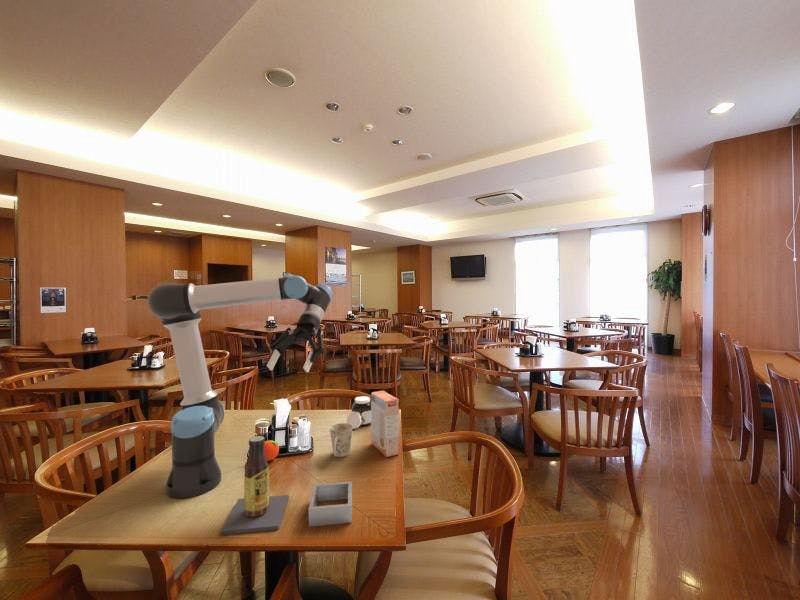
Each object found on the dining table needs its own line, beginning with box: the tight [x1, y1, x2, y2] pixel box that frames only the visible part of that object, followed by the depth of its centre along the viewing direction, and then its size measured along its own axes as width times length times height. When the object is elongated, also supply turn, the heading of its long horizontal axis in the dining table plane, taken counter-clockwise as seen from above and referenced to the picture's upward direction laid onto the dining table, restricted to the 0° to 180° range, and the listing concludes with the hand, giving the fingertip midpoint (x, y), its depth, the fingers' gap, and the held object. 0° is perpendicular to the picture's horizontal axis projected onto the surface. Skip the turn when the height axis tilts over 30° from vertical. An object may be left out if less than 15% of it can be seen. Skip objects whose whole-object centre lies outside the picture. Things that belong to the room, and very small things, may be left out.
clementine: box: [264, 439, 281, 462], centre depth 129 cm, size 8×7×7 cm
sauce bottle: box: [243, 435, 270, 517], centre depth 96 cm, size 6×6×20 cm
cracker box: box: [370, 390, 400, 458], centre depth 136 cm, size 14×6×21 cm, turn 26°
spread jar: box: [346, 396, 371, 430], centre depth 162 cm, size 12×11×12 cm
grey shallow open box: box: [308, 481, 353, 527], centre depth 98 cm, size 11×12×4 cm
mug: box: [329, 422, 353, 458], centre depth 131 cm, size 8×13×10 cm, turn 174°
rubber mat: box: [220, 494, 290, 536], centre depth 97 cm, size 14×14×1 cm
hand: (287, 369), depth 115 cm, fingers open, 13 cm apart
